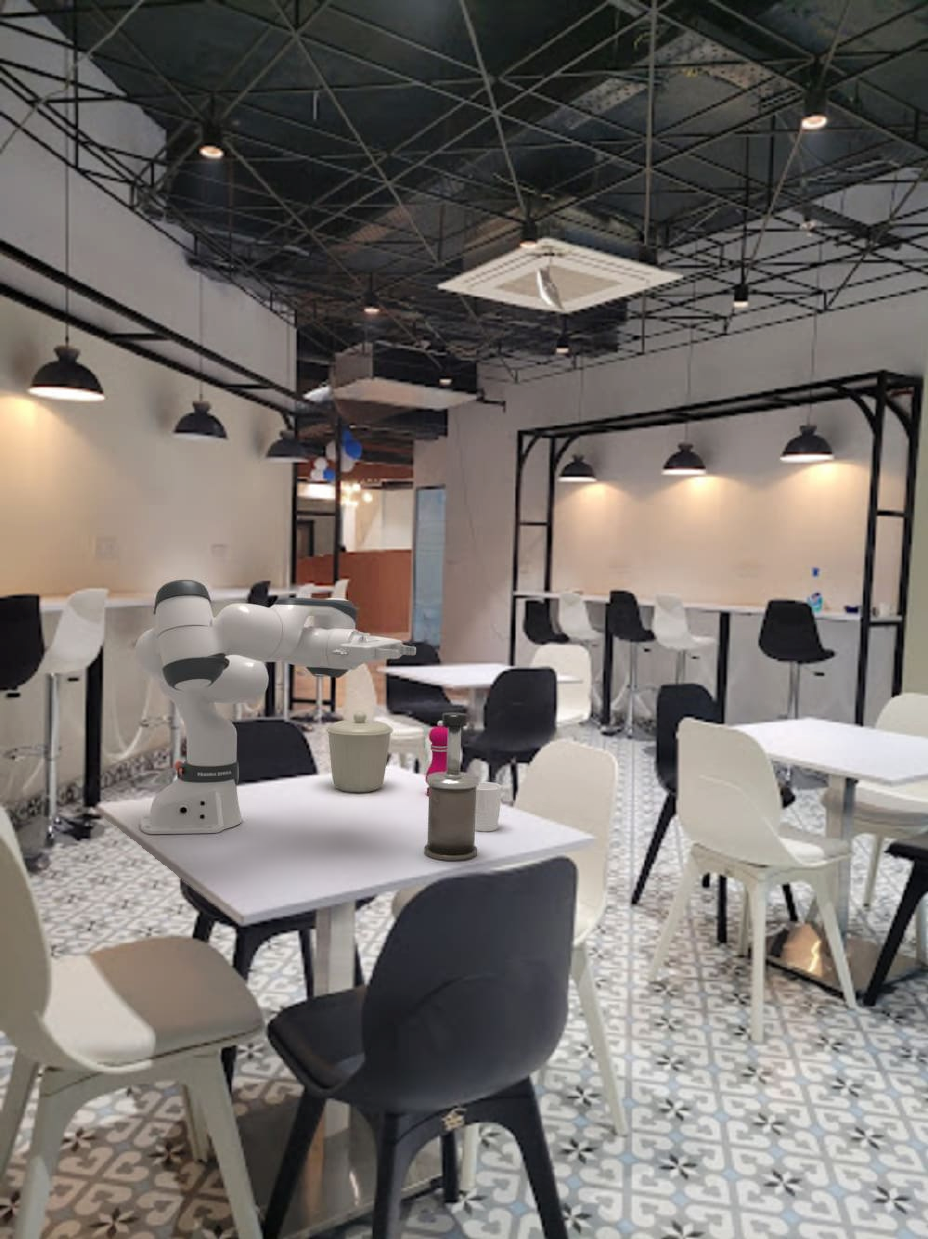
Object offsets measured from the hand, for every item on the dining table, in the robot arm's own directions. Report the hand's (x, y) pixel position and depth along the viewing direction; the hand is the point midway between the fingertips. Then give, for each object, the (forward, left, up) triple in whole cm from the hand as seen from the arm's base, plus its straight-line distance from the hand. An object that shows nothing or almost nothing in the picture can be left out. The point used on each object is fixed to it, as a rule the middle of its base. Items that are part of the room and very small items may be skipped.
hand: (407, 652), depth 192 cm
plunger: (+9, -7, -25) cm, 27 cm away
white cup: (+23, +9, -42) cm, 49 cm away
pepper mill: (+23, +41, -42) cm, 63 cm away
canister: (+4, +53, -42) cm, 68 cm away
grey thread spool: (+9, -7, -42) cm, 43 cm away
